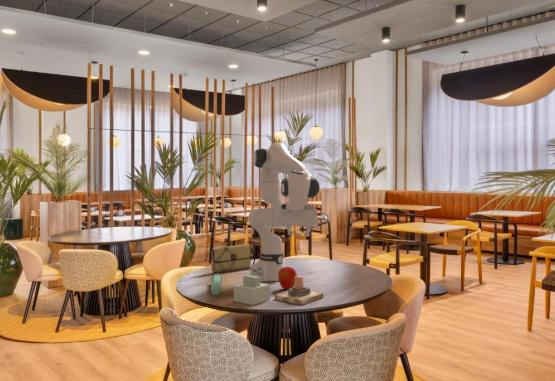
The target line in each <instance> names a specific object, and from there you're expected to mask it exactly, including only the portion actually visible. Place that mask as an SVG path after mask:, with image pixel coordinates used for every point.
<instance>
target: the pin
mask: <svg viewBox="0 0 555 381" xmlns="http://www.w3.org/2000/svg"><path fill="white" fill-rule="evenodd" d="M294 287H295V290H299V291H301V290H303V287H304V276H303V275H297V276H295V285H294Z"/></svg>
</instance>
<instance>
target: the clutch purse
mask: <svg viewBox="0 0 555 381" xmlns="http://www.w3.org/2000/svg"><path fill="white" fill-rule="evenodd" d="M210 254H211V272H213V273H212V274H215V273H214V272H217V273H223V274H226V272H229V271H228V270H230V271H235V269H237V270H243V269H242V268H244V269H245V271H249V270H251V267H252V266H253V265H254V264H255V263H256V256H255V252H254V250H253V246H252V244H250V243H249V244H248V243H247V244H238V245H229V246H219V247H211V248H210ZM252 256H253V257H252ZM251 257H252V258H253V263H252V262H251V261H252V260H251V259H252V258H251ZM248 269H249V270H248ZM221 271H223V272H221Z"/></svg>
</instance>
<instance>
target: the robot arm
mask: <svg viewBox="0 0 555 381" xmlns="http://www.w3.org/2000/svg"><path fill="white" fill-rule="evenodd" d="M252 161H253V165H254V166H255V167H256V168H257V169H258V168H259V169H261V170H260V174H259V176H260V178H259V187H260V198H261V200H262V201H263V202H264V203H267V204H269V205H270V206H271V208H270V207H267V208H265V207H263V208H262V207H261V208H256V209H252V210H251V211H250V212H249V213H248V216H247V219H248V223H249V225H250V226H251V227H252V228H253V229H255V231H256V232H257V233H258V235H259V238H260V241H261V253H259V254H258V255H257V256H258V257H259V260H258V261H257V262H256V261H255V263H254V265H253V264H252V265H253V266H252V265H251V266H252V267H251V266H250V268H251V269H250V273H249V274H247V275H252V276H257V277H260V282H278V281H279V279H278V273H279V270H280V269H281V268H282V267H284V264H283V261H284V254H283V239H282V237H280V236H279V235H278V234H275V233H273V232H272V229H285V228H286V230H287V234H288V235H289V236H293V234H294V231H293V230H292V228H291V227H294V226H295V227H305V229H306V231H305V232H303V233H304V235H303V236H304V237H310V233H311V230H312V228H316V227H318V225H319V219H318V209H317V208H316V207H315V206H313V205H311V206H310V205H309V203H308V202H309V201H308V200H309V199H314V198H315V197H316V196H317V195H318V194H319V193H320V189H321V188H320V182H319V181H318V179H317V178H316V177H314V176H313V175H312V174H311V173H310V171H309V170H308V169H307V167H306V166H305V165H304V164H303V162H302V161H300V160H298V159H297V158H295V157H294V156H293V154H292V152H291V150H289V149H288V148H287V146H286V145H285V144H284V143H283V142H278V141H276V142H273V143H272V144H270V145H269V148H257V149H256V150H255V151H254V153H253V155H252ZM280 174H286V175H288V177H286V178H284V179H283V180H282V181H281V182H280ZM282 196H283V197H285V198H288V201H287V202H285V201H284V200H283V198H282ZM288 235H287V236H288Z"/></svg>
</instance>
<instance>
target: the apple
mask: <svg viewBox="0 0 555 381" xmlns="http://www.w3.org/2000/svg"><path fill="white" fill-rule="evenodd" d="M295 276H298V275H297V272H296V270H295V269H294V268H293V267H291V266H283V267H282V268H281V269H280V270H279V273H278V279H279V282H278V283H279V284H280V287H281V288H282V289H283V290H285V291H288V289H290V288H293V287H295Z"/></svg>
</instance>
